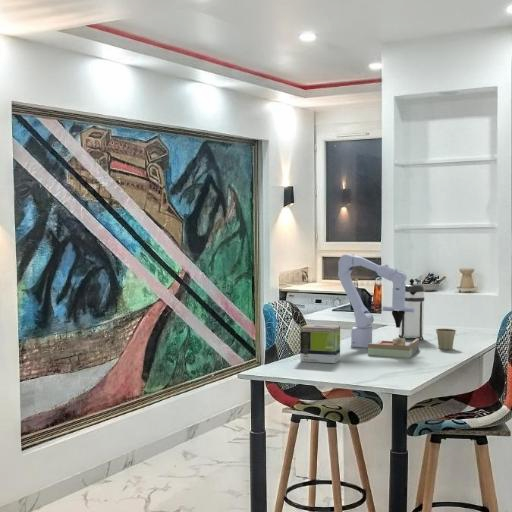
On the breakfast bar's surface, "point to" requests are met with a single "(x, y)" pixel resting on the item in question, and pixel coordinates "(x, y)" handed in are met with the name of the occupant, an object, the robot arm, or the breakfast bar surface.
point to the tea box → (320, 343)
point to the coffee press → (414, 321)
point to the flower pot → (445, 338)
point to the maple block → (399, 341)
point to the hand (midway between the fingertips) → (398, 327)
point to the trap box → (393, 349)
